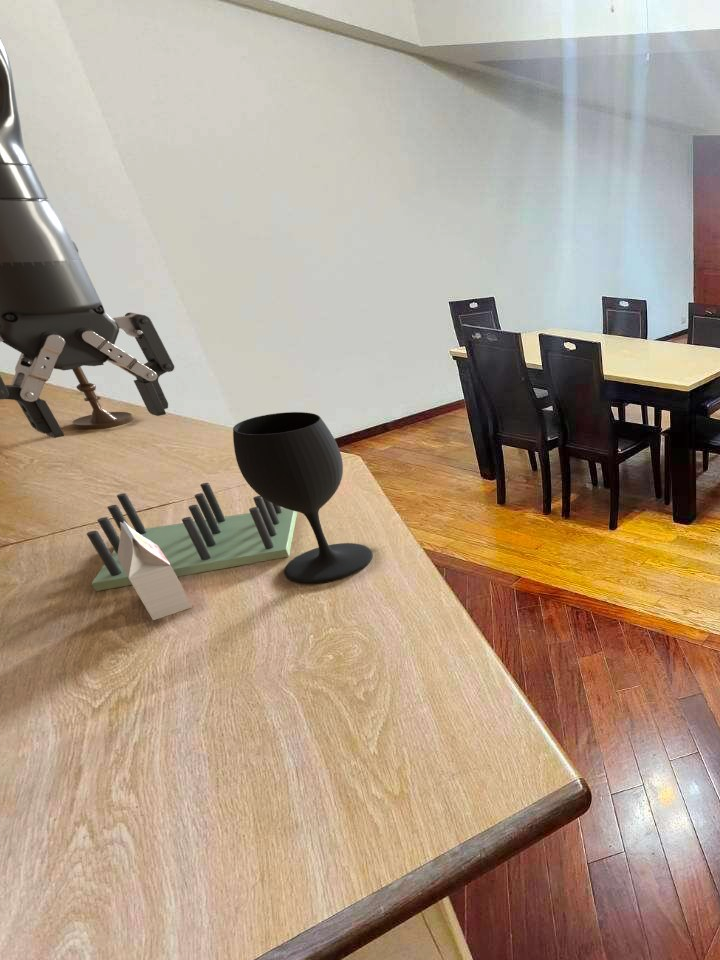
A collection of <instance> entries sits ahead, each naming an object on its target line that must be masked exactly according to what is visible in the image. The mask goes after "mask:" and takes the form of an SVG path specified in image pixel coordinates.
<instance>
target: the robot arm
mask: <svg viewBox="0 0 720 960" xmlns="http://www.w3.org/2000/svg"><path fill="white" fill-rule="evenodd" d="M18 109H19V108H18V103H17V97H16V90H15V84H14V78H13V71H12V66H11V62H10V58H9V55H8V51H7V50H6V47H5V44H4V43H3V40H2V39H1V38H0V343H3V344H5V345H7V346H9V347H10V348H12V349H14V350H16V351H18V352H19V353H20V355H19V358H18V360H17V363H16V365H15V368H14V371H15V373H14V376H13V378H12V380H11V384H5V381H4V380H3V378H2V376H1V375H0V400H1V401H2V400H11V401H15V402H17V404H18V405H19V407H20V409H21V410H22V412H23V413H24V416H25V417H26V419H27V420H28V422H29V424H30V426H31V427H32V428H33V429H34V430H35V431H37V432H39V433H42V434H43V435H45V434H46V435H47V436H48V437H50V438H53V439H57V438H62V437H65V433H64V431H63V430H62V428H61V426H60V424H59V423H58V421H57V419H56V417H55V415H54V413H53V412H52V410H51V407H50V406H49V404H48V403H47V400H44V399H41V398H40V396H41V394H42V391H43V388H44V386H45V383H46V382H48V381H49V379H50V378H51V376H52V373H53V371H54V370H61V371H70V370H72V369H75V368H78V367H83V366H86V367H97V366H98V367H99V366H104V363H106V362H109V363H111V364H112V365H114V366H116V367H118V368H120V369H122V370H123V371H125V372H127V373H128V374H130V375H132V376H133V377H134V378H135V379H133V382H134V384H135V387H136V389H137V391H138V393H139V395H140V397H141V399H142V402H143V404H144V405H145V408H146V410H147V412H148V413H149V414H150V415H153V416H156V417H160V416H164V415H166V414H167V413H166V410H167V409H169V402H168V400H167V397H166V396H165V393H164V391H163V389H162V387H161V384H160V381H159V378H160V377H161V376H162V375H164V374H166V373H171V372H173V371H174V370H175V364H174V362H173V361H172V359H171V357H170V354H169V353H168V351H167V349H166V347H165V344H164V343H163V341H162V339H161V337H160V335H159V334H158V331H157V329H156V328H155V326H154V324H153V321H152V320H151V318H150V317H149V316H148V315H145V314H139V313H136V312H127V313H125V314H124V315H123V316H117V317H111V316H110V315H109V314H108V313H107V311H106V310H105V307H104V305H103V303H102V301H101V299H100V296H99V294H98V292H97V290H96V287H95V286H94V283H93V282H92V279H91V277H90V276H89V273H88V271H87V269H86V267H85V265H84V262H83V261H82V258H81V256H80V254H79V249H78V247H77V244H76V243H75V242H74V240H73V239H72V238H71V235H70V234H69V232H68V229H67V227H66V226H65V224H64V222H63V221H62V219H61V218H60V216H59V214H58V213H57V212H56V210H55V208H54V206H53V205H52V203H51V201H50V200H49V197H48V195H47V192H46V190H45V188H44V187H43V184H42V182H41V180H40V177H39V176H38V174H37V171H36V169H35V168H34V165H33V163H32V161H31V159H30V158H29V156H28V154H27V152H26V148H25V145H24V139H23V133H22V125H21V119H20V114H19V110H18ZM120 329H121V330H122V331H124V332H125V334H126V335H128V336H129V337H132V338H134V339H135V340H136V342H137V344H138V347H139V349H140V350H141V353H142V354H143V356H144V358H145V359H146V362H145V363H142V362H140V361H139V360H137V358H135V357H134V356H133V355H130V354H129V353H127V352H126V351H124V350H123V349H121V348H120V347H118V346H116V345H115V344H116V341H117V338H118V335H119V333H120Z"/></svg>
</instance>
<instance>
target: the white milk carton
mask: <svg viewBox="0 0 720 960" xmlns="http://www.w3.org/2000/svg"><path fill="white" fill-rule="evenodd" d="M127 523H128V522H127ZM127 523H126V522H125V521H124V523H122V522H120V525H121V531H120V536H119V538H120V542H119V548H118V554H117V558H118V560H119V561H120V563H121V565H122V567H123V569H124V570H125V572H126V574H127V576H128V578H129V579H130V581H131V583H132V585H131V586H133V588H134V591H136V594H137V595H138V597H139V599H140V601H141V602H142V604H143V606H144V607H145V609H146V611H147V613H148V614H149V616H150V617H151V619H152V621H156V620H159V619H162V618H165V617H168V616H171V615H173V614H177V613H180V612H182V611H185V610H189V609H192V608H194V606H193V604H192V603H191V601H190V599H189V597H188V594H187V593H186V591H185V589H184V587H183V585H182V582H180V579H179V578H178V577H177V576H176V574H175V572H174V570H173V568H172V566H171V565H170V563H169V562H168V560H167V559H166V557H165V556H164V554H163V553H162V551H161V550H160V548H159V547H158V546H157V545H156V544H154V543H153V542H151V541H150V540H148V539H147V538H145V537H143V536H142V535H140V534H139V533H137V532H136V531H135V529H134V528H132V527H131V526H130V525H129V523H128V524H127ZM128 525H129V526H128Z"/></svg>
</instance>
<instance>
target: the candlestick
mask: <svg viewBox="0 0 720 960" xmlns="http://www.w3.org/2000/svg"><path fill="white" fill-rule="evenodd" d="M71 370H72V372H73V374H74V375H75V378H76V380H77V382H78V383H79V384H77V385H76V387H75V388H76V390H78V391H79V392H80V393H83V395H84V396H85V398H83V400H84V402H89V405H90V406H91V408H92V412H91V414H88V415H84V416H81V417H78V418H76V419H74V420H72V424H73V426H74V428H75V429H79V430H99V429H108V428H113V427H117V426H123V425H126V424H128V423H130V422H132V421H133V420H134V417H133V414H132V413H131V412H127V411H107V410H106V409H104V408H103V407H102V405H101V403H100V402H99V400H101V396H98V395H97V394H96V393H95V391H96V390H97V385H96V384H95V383H92V382H90V381H89V380H88V378H87V376H86V374H85V372H84V371H83V369H82V366H80V367H78V368H75V369H71Z"/></svg>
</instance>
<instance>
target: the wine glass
mask: <svg viewBox="0 0 720 960" xmlns="http://www.w3.org/2000/svg"><path fill="white" fill-rule="evenodd" d="M232 438H233V439H232V440H233V449H234V455H235V460H236V463H237V466H238V469H239V471H240V473H241V475H242V477H243V479H244V480H245V482H246V483H247V485H248V486H249V487H250V488H251V489H252V490H253V491H254V492H255V493H256V494H257V495H258V496H261V497H263V498H264V499H266V500H268V501H269V502H271V503H273V504H275V505H278V506H280V507H281V508H286V509H289V510H292V511H296V512H297V513H301V514H303V515H304V516H305V518H306V519H307V522H308V523H309V525H310V527H311V529H312V531H313V534H314V536H315V539H316V542H317V546H318V547H316V548H312V549H310V550H307V551H305V552H303V553H301V554H299V555H297V556H295V557H294V558H293V559H291V560H290V561H289V562H288V563H287V564H286V566H285V567H284V569H283V570H284V571H283V574H284V576H285V578H286V579H287V580H288V581H290V582H292V583H295V584H300V585H320V584H325V583H331V582H335V581H338V580H342V579H345V578H347V577H350V576H353V575H354V574H357V573H358V572H360V571H361V570H363V569H365V568H366V567H367V566H368V565H369V564H370V563H371V561H372V559H373V558H374V557H373V552H372V550H371V549H370V548H369V547H368V546H366V545H364V544H360V543H356V542H355V543H354V542H350V543H349V542H344V543H343V542H342V543H341V542H339V543H331V544H329V542H328V541H327V539H326V537H325V533H324V531H323V528H322V524H321V520H320V514H319V513H320V509H321V508H323V507H324V506H325V505H326V503H328V502H329V501H330V500H331V499H332V497H333V496H334V495H335V494H336V492H337V490H338V489H339V487H340V485H341V482H342V479H343V474H344V464H343V463H344V462H343V458H342V453H341V450H340V447H339V446H338V443H337V441H336V439H335V437H334V436H333V434H332V432H331V430H330V429H329V428H328V425H327V424H326V423H325V421H324V420H323V419H322V417H321V416H320V415H318V414H316V413H312V412H305V411H289V412H288V411H287V412H277V413H276V412H275V413H270V414H263V415H259V416H254V417H250V418H248V419H245V420H243V421H239V422H238V423H236V424H235V425H234V426H233V428H232Z"/></svg>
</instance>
